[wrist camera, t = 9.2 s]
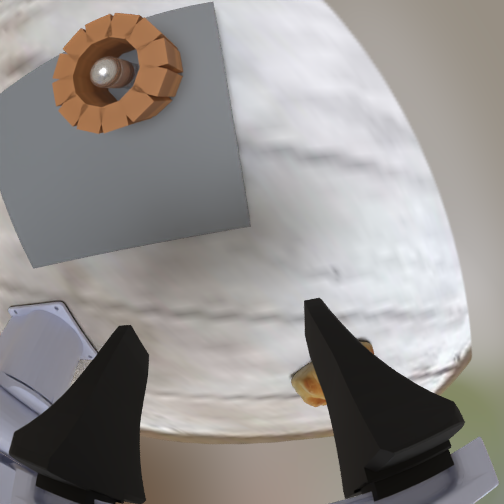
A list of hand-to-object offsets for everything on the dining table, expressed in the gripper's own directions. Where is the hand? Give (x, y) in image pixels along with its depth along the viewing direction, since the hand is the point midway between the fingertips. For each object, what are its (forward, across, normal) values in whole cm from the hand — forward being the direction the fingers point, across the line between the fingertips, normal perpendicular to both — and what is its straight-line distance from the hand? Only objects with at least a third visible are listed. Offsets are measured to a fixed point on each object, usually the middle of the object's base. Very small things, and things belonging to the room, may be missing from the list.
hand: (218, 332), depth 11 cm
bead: (+8, +3, -11) cm, 14 cm away
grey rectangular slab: (+9, +7, -8) cm, 14 cm away
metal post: (+8, +3, -11) cm, 14 cm away
